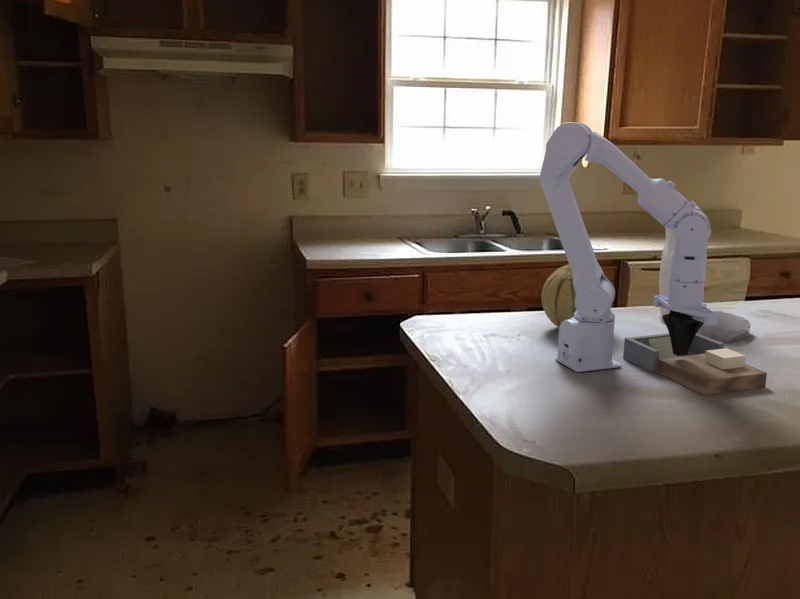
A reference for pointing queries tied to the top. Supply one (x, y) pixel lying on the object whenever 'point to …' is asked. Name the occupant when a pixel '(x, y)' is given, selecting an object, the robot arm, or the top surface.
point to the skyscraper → (666, 267)
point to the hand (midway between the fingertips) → (680, 354)
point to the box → (648, 357)
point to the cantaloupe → (559, 296)
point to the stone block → (726, 328)
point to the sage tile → (662, 347)
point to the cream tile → (724, 358)
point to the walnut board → (710, 375)
